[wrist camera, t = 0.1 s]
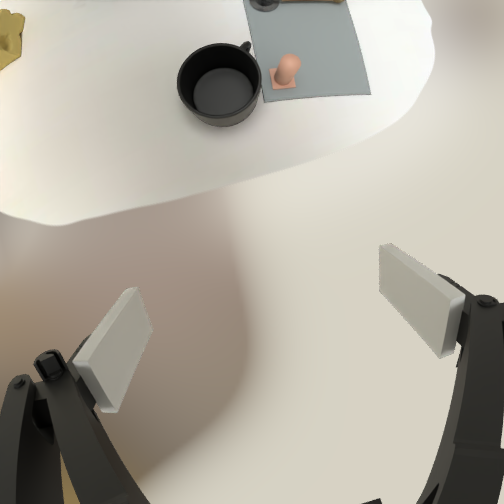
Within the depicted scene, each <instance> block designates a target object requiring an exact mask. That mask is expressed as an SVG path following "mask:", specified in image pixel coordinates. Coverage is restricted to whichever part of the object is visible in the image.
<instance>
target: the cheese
mask: <svg viewBox="0 0 504 504" xmlns="http://www.w3.org/2000/svg"><path fill="white" fill-rule="evenodd" d="M24 20H25V18H24V16H23V15H21V14H19V13H14V14H10V11H9V10H7V9H1V10H0V70H2V69H3V68H4V67H5V66H7V65H8V64H10V63H11V62H12V61H14V60H15V59H17V58H19V57H20V56H21V38H20V35H19V34H20V33H21V32H22V31H23V25H24Z"/></svg>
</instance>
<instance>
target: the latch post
mask: <svg viewBox="0 0 504 504" xmlns="http://www.w3.org/2000/svg"><path fill="white" fill-rule="evenodd" d="M300 66H301V61H300V59H299V57H298V56H296V55H294V54H286V55H284V56H283V57H282V58H281V60H280V63H279V65H278V67H277V68H273V69H269V73H270V78H271V83H272V88H273V90H278V89H287V88H296V85H295V80H294V76H295V74H296V73H297V71H298V70H299V68H300Z"/></svg>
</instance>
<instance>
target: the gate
mask: <svg viewBox="0 0 504 504" xmlns="http://www.w3.org/2000/svg"><path fill="white" fill-rule="evenodd" d="M281 1H333V2H336V3H341V2H344V0H281Z"/></svg>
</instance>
